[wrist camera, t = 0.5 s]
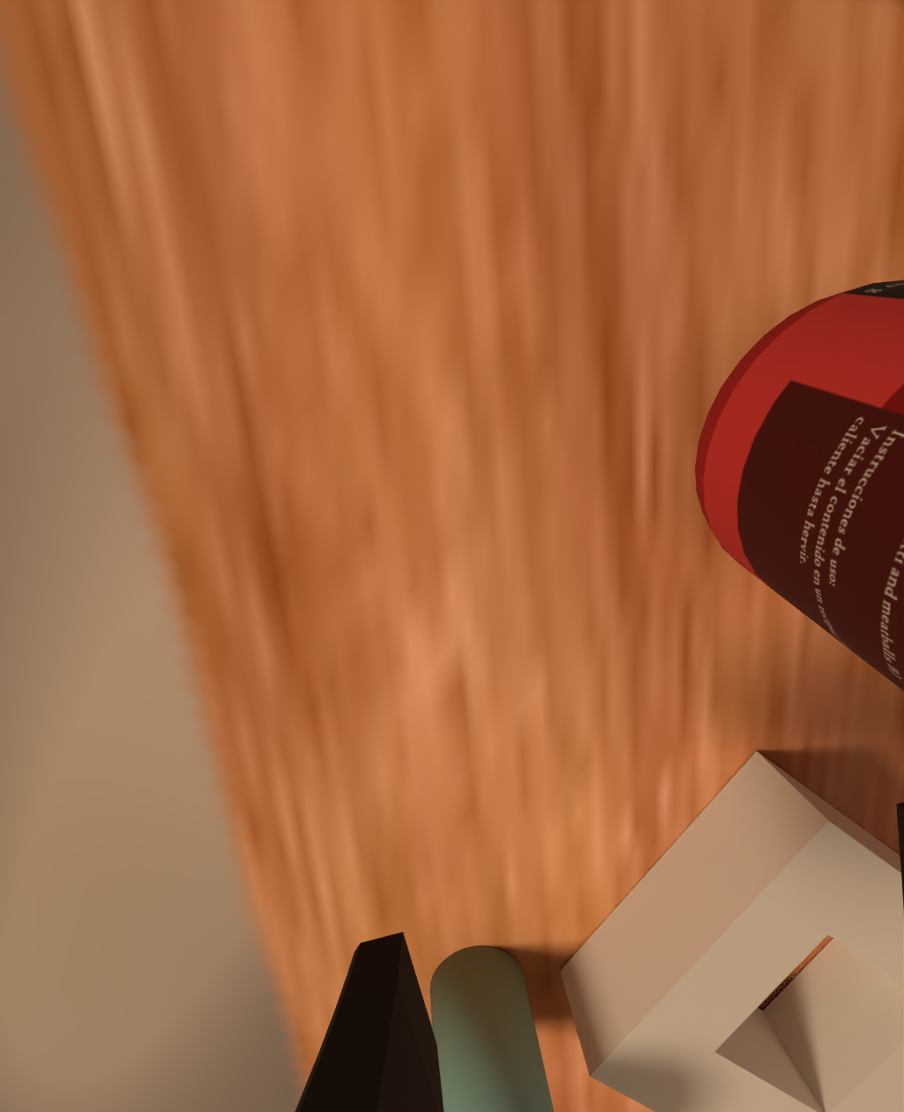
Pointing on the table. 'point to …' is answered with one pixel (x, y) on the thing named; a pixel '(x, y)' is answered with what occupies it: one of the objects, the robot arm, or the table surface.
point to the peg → (486, 1035)
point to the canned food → (819, 467)
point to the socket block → (752, 963)
